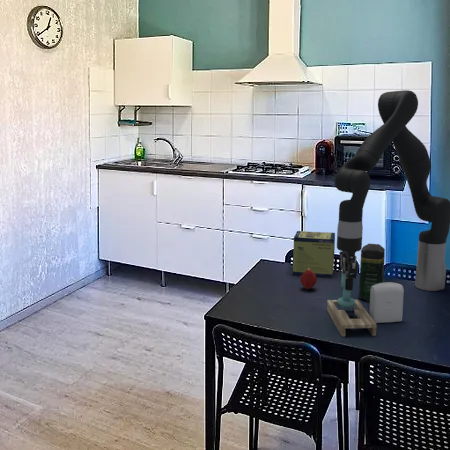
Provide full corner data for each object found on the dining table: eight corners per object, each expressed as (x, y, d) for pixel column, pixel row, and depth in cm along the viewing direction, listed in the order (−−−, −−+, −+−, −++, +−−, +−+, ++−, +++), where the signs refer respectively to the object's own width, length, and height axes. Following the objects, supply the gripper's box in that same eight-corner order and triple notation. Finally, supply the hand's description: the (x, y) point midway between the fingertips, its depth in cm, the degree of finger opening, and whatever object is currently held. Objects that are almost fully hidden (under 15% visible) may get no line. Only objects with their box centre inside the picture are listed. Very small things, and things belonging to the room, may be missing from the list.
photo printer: (371, 324, 168) (373, 286, 165) (366, 318, 172) (368, 281, 169) (404, 322, 169) (406, 284, 166) (398, 317, 173) (400, 279, 170)
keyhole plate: (357, 309, 179) (357, 299, 178) (375, 335, 160) (376, 324, 159) (327, 310, 179) (327, 300, 178) (341, 336, 159) (342, 325, 159)
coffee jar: (381, 303, 184) (384, 250, 180) (357, 300, 187) (359, 248, 183) (383, 293, 193) (386, 242, 189) (360, 291, 196) (362, 241, 192)
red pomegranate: (317, 292, 195) (318, 270, 194) (301, 292, 196) (301, 270, 194) (315, 286, 201) (315, 265, 199) (299, 286, 201) (299, 265, 199)
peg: (352, 301, 176) (353, 271, 174) (356, 307, 171) (358, 276, 169) (336, 301, 176) (337, 271, 173) (339, 307, 171) (341, 277, 168)
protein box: (332, 278, 210) (334, 238, 207) (292, 275, 214) (293, 236, 210) (334, 270, 220) (335, 232, 217) (295, 267, 224) (296, 230, 220)
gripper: (368, 240, 161) (365, 295, 165) (355, 228, 175) (353, 280, 179) (343, 240, 161) (340, 295, 165) (332, 229, 175) (330, 280, 179)
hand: (347, 287), depth 172 cm, fingers closed on peg, 3 cm apart
